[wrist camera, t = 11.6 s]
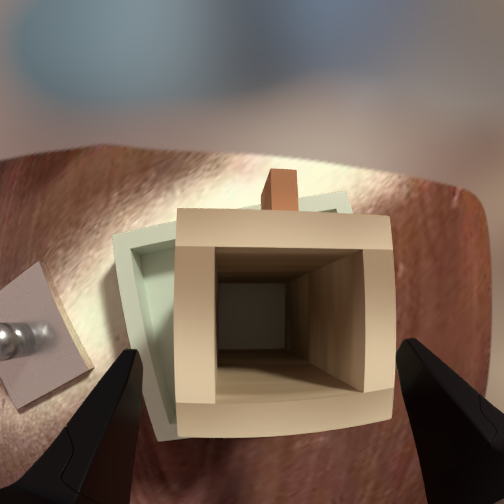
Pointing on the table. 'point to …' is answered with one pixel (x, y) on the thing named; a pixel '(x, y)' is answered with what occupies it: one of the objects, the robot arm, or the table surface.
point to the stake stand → (37, 338)
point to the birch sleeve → (296, 318)
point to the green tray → (162, 308)
